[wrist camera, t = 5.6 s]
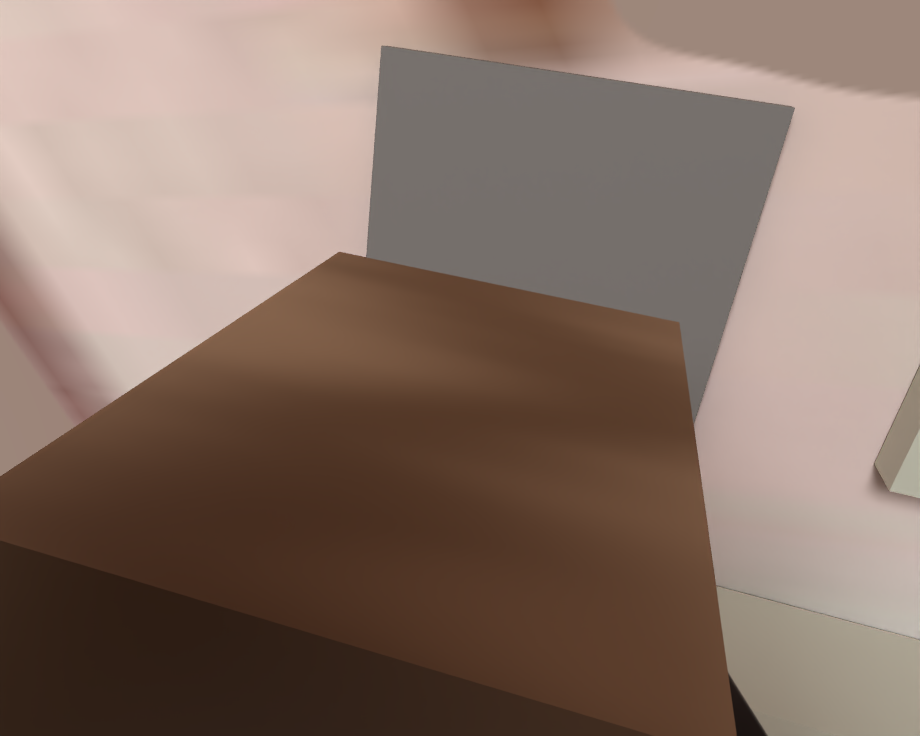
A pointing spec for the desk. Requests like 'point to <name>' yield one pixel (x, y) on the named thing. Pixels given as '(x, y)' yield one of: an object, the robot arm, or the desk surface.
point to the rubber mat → (573, 187)
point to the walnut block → (374, 529)
